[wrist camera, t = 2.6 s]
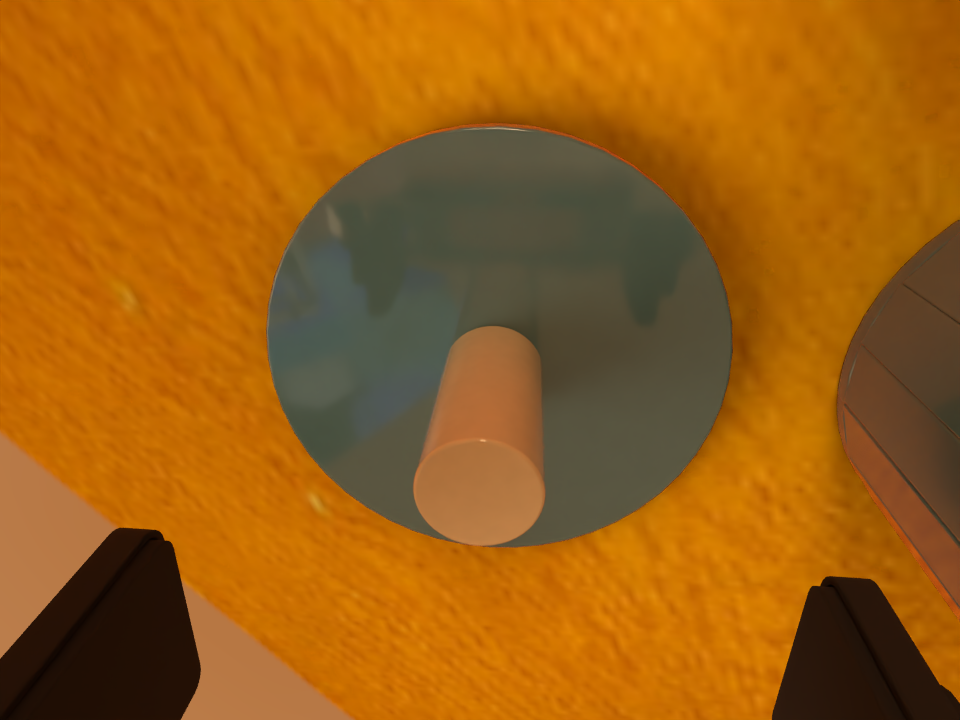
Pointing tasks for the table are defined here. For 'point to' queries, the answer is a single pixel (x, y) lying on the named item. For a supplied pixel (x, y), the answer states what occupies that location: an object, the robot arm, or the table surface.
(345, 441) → the canister lid
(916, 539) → the canister
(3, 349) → the table surface
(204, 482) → the table surface
